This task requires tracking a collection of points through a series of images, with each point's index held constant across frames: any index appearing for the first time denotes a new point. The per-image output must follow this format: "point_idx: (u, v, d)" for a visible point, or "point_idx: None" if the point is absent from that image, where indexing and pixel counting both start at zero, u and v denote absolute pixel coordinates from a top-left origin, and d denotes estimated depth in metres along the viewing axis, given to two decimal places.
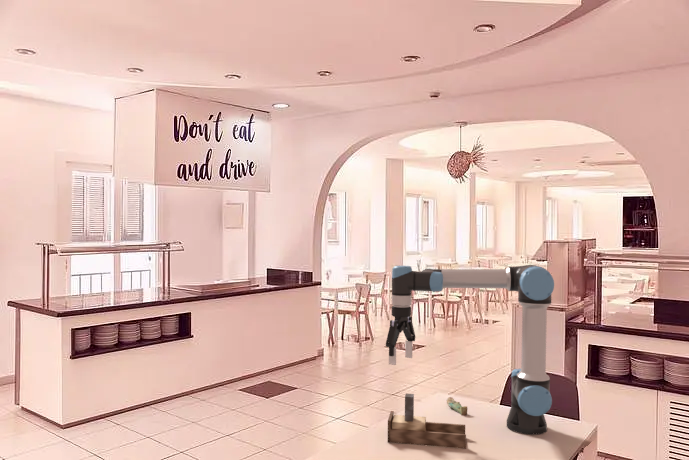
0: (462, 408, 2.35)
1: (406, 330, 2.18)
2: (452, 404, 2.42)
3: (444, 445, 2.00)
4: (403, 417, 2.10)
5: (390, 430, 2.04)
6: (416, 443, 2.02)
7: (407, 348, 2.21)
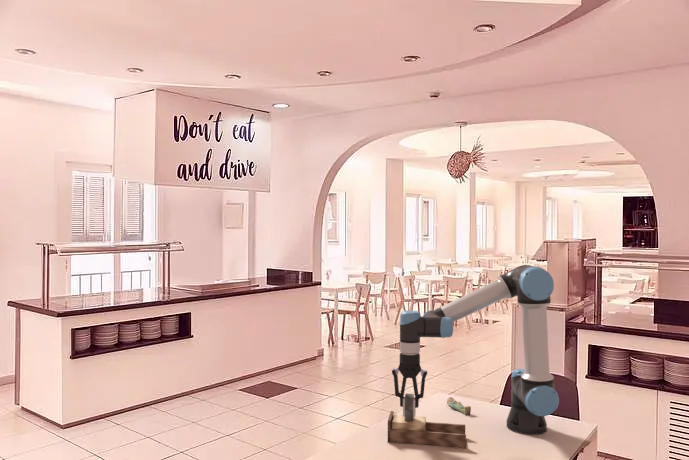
0: (466, 408, 2.35)
1: None
2: (454, 404, 2.42)
3: (444, 445, 2.00)
4: (403, 417, 2.10)
5: (390, 430, 2.04)
6: (416, 443, 2.02)
7: None
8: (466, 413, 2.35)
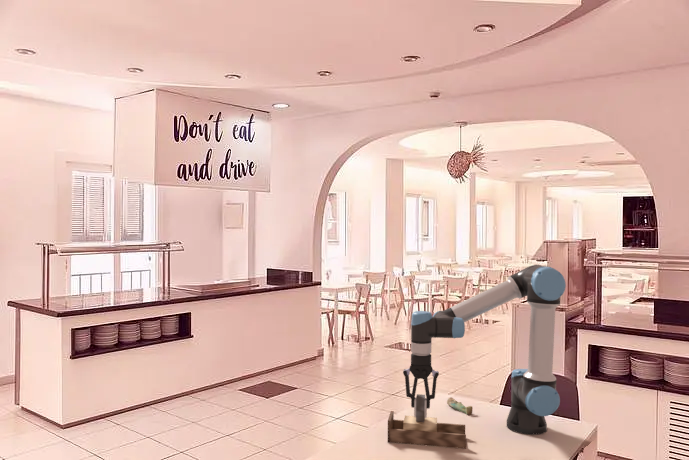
0: (468, 408, 2.35)
1: (424, 382, 2.07)
2: (455, 404, 2.42)
3: (444, 445, 2.00)
4: (414, 418, 2.10)
5: (390, 430, 2.04)
6: (416, 443, 2.02)
7: None
8: (468, 413, 2.35)
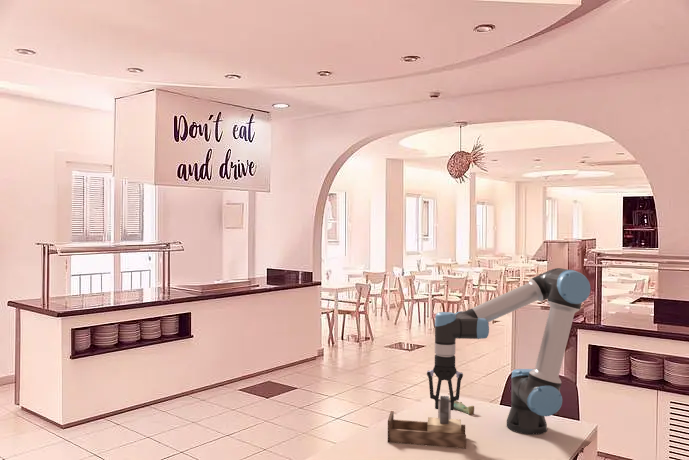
0: (470, 408, 2.36)
1: (448, 383, 2.05)
2: (456, 404, 2.42)
3: (444, 445, 2.00)
4: (438, 420, 2.08)
5: (390, 430, 2.04)
6: (416, 443, 2.02)
7: None
8: (470, 413, 2.36)
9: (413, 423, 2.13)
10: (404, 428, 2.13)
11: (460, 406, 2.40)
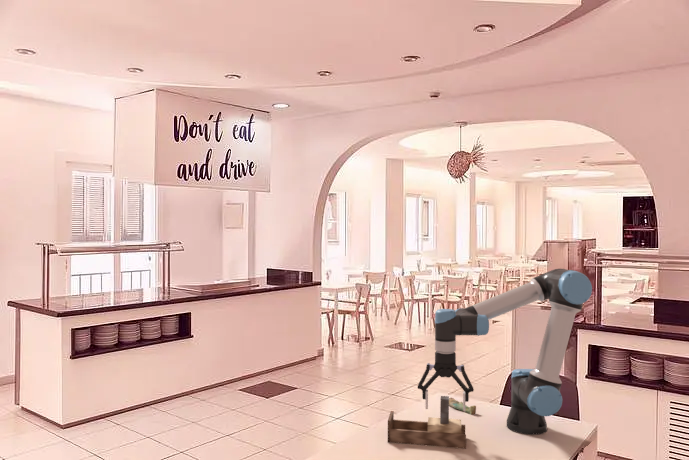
0: (472, 408, 2.36)
1: None
2: (457, 404, 2.42)
3: (444, 445, 2.00)
4: (438, 420, 2.08)
5: (390, 430, 2.04)
6: (416, 443, 2.02)
7: None
8: (472, 413, 2.36)
9: (413, 423, 2.13)
10: (404, 428, 2.13)
11: (461, 406, 2.41)
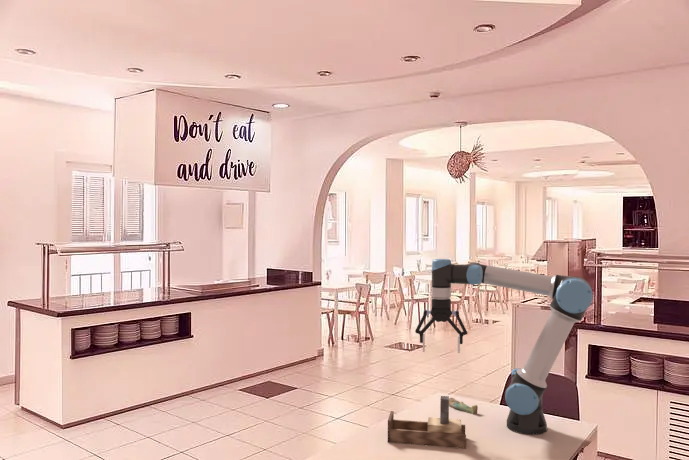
0: (473, 407, 2.36)
1: (450, 323, 2.20)
2: (458, 404, 2.42)
3: (444, 445, 2.00)
4: (438, 420, 2.08)
5: (390, 430, 2.04)
6: (416, 443, 2.02)
7: (457, 342, 2.21)
8: (474, 412, 2.36)
9: (413, 423, 2.13)
10: (404, 428, 2.13)
11: (463, 406, 2.41)
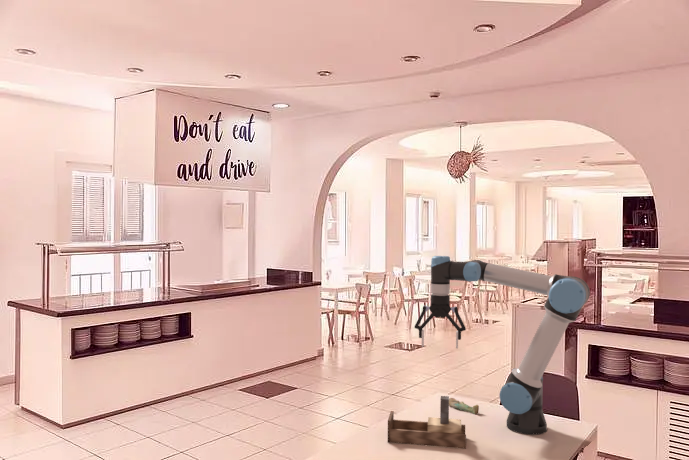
0: (475, 407, 2.37)
1: None
2: (459, 404, 2.42)
3: (444, 445, 2.00)
4: (438, 420, 2.08)
5: (390, 430, 2.04)
6: (416, 443, 2.02)
7: None
8: (475, 412, 2.37)
9: (413, 423, 2.13)
10: (404, 428, 2.13)
11: (463, 406, 2.41)
